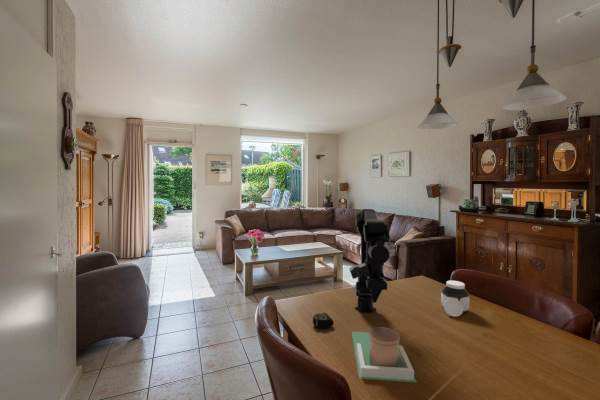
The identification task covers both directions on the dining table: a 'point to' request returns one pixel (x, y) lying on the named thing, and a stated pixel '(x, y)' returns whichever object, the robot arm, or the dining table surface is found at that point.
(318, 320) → the tape measure
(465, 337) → the dining table surface
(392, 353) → the terracotta pot
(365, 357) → the green mat
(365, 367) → the white rail holder
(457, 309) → the spread jar
